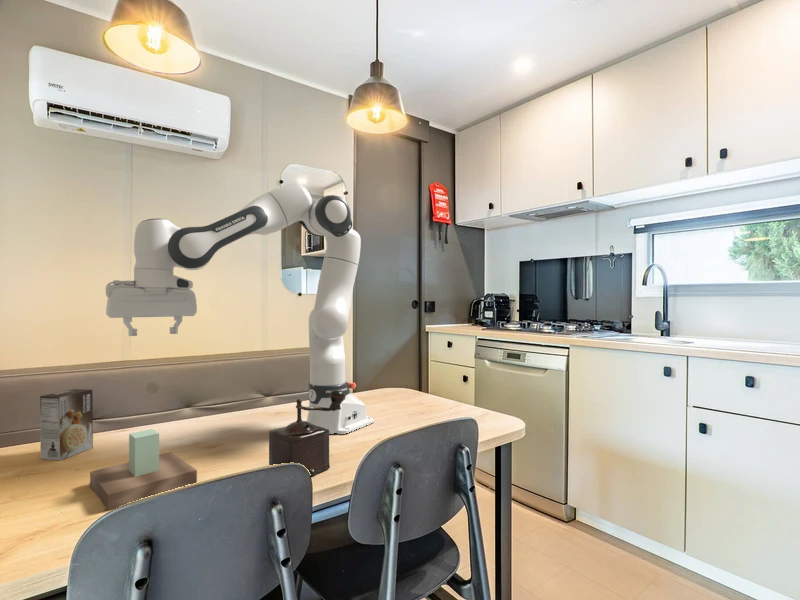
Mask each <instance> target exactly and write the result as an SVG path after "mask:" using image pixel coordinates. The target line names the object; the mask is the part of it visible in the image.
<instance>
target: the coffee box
mask: <svg viewBox="0 0 800 600" xmlns="http://www.w3.org/2000/svg"><path fill="white" fill-rule="evenodd" d="M93 399H94V398H93V389H88V388H87V389H84V388H83V389H81V388H72V389H67V390H63V391H58V392H54V393H49V394H44V395H40V397H39V403H40V404H39V405H40V407H39V413H40V414H39V415H40V421H39V423H40V425H39V427H40V428H39V429H40V434H39V435H40V459H41V460H51V461H63V460H65V459H68V458H70V457H73V456H75V455H78V454H81V453H84V452H86V451H89V450H92V449H94V419H93V417H94V416H93V415H94V412H93V409H94V408H93V406H94V405H93V402H94V400H93Z"/></svg>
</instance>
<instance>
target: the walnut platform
mask: <svg viewBox="0 0 800 600" xmlns="http://www.w3.org/2000/svg"><path fill="white" fill-rule="evenodd" d="M89 477H90V478H89V487H91V489H92V491H93V492H94V493H95V495H96V496H97V498H98V499H99V500H100V502H101V503H102V504H103V506H104V507H105V509H106V508H107V509H108V510H107V509H106V510H107V511H109V512H110V511H112V509H113V510H115V509H114V508H116V507H119V506H121V505H124V504H127V503H129V502H133V501H136V500H139V499H141V498H145V497H148V496H151V495H155V494H158V493H161V492H165V491H168V490H172V489H175V488H178V487H182V486H185V485H188V484H193V483H196V482H197V483H198V481H197V480H198V470H197V469H196V468H195V467H193V466H192V465H191V464H189V463H188V462H186V461H185V460H183V459H182V458H180V457H179V456H178V455H176V454H175V453H173V452H172V451H170V452H165V453H161V454H159V470H158V471H155V472H151V473H147V474H143V475H140V476H136V477H135V476H134V475H133V474H132V473H131V472H130V471H129V461H128V462H124V463H120V464H115V465H112V466H107V467H103V468H99V469H95V470H91V471H89ZM119 508H120V507H119ZM116 509H117V508H116Z"/></svg>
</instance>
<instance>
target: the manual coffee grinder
mask: <svg viewBox="0 0 800 600" xmlns="http://www.w3.org/2000/svg"><path fill="white" fill-rule="evenodd" d="M329 397H330V399H331V402H332V403H331V405H330V408H324V407H309V406H304V405H302V403H303V401H302V399H301V398H298V399H296V401H295V402H296V406H295V409H297V412H296V413H297V414H296V415H297V417H296V421H293V422H291V423H289V424H287V425H286V426H283V427H279V428H275V429H271V430H269V433H268V466H269V465H273V464H281V463H290V462H294V463H300V464H302V465H304V466H305V467H306V468H307V469H308V470H309V472H310V474H311V477H313V476H316V475H317V474H320V473H322V472H326V471H327V470H328V469H330V468H331V466H330V434H329V430H328V429H326V428H323V427H319V426H316V425H313V424H311V423H309V422H307V420H306V421H305V420H303V419H302V410H303V411H309V410H319V411H336V410H341V407H340V404H341V403H342V402H343V401H344V400H345V397H346V396H345V393H344V392H342V391H340V390H334V391H331V393H330V396H329Z"/></svg>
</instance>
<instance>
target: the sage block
mask: <svg viewBox="0 0 800 600" xmlns="http://www.w3.org/2000/svg"><path fill="white" fill-rule="evenodd" d="M159 455H160V433H159V432H158V431H157V430H155V429H153V428H150V429H145V430H140V431H136V432H131V433H129V434H128V462H129V471H130V472H131V473H132V474H133V475H134V476H135V477H136V476H140V475H143V474H147V473H151V472H155V471H158V470H159Z"/></svg>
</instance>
